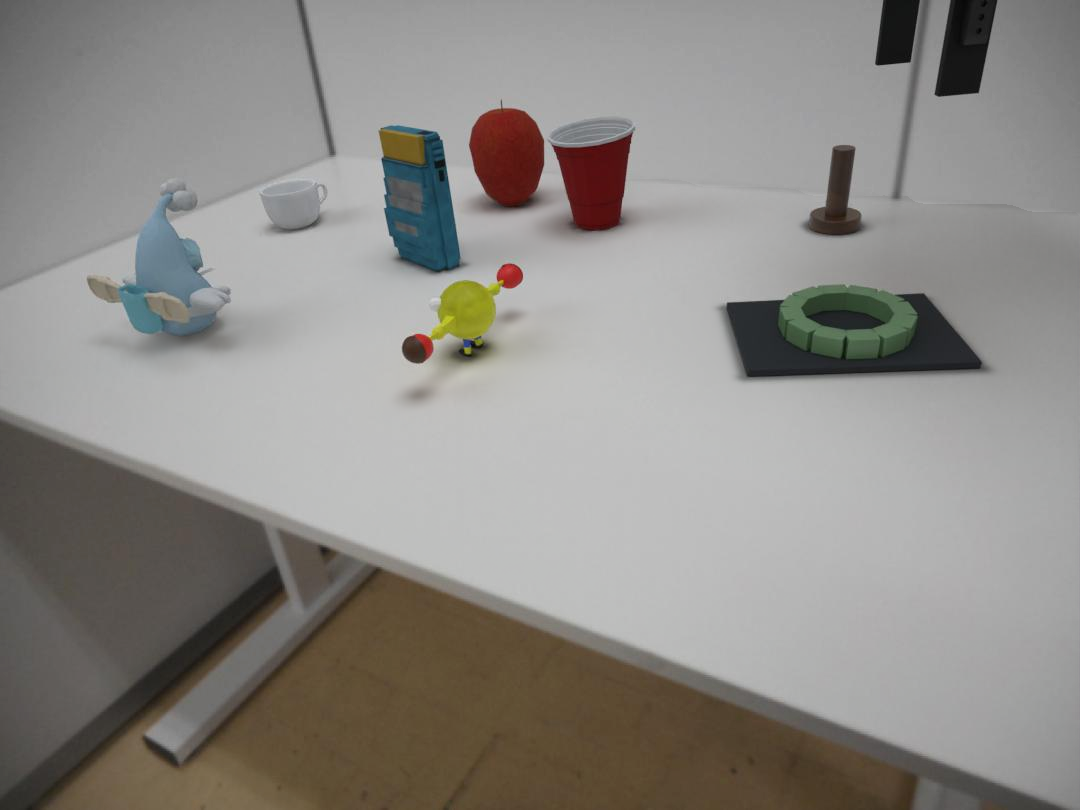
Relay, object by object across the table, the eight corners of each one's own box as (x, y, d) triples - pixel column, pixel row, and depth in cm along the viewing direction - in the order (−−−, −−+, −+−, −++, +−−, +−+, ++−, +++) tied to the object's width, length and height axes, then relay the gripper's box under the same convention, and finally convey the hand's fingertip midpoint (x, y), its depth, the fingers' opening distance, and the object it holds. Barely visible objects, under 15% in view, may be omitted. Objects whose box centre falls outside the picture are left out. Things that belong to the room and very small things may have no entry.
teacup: (291, 237, 101) (280, 198, 99) (259, 229, 106) (247, 191, 103) (348, 214, 108) (339, 177, 105) (315, 208, 112) (306, 172, 109)
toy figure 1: (284, 323, 78) (240, 180, 70) (198, 369, 71) (138, 216, 63) (189, 298, 86) (140, 167, 78) (103, 337, 79) (40, 197, 71)
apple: (562, 196, 106) (555, 92, 99) (517, 218, 100) (505, 109, 92) (508, 188, 112) (497, 89, 105) (462, 208, 106) (447, 104, 98)
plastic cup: (539, 222, 98) (530, 127, 91) (609, 203, 101) (605, 111, 95) (580, 245, 89) (573, 142, 83) (655, 224, 93) (654, 124, 87)
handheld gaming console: (466, 264, 87) (446, 132, 79) (438, 276, 85) (414, 141, 77) (418, 247, 93) (395, 123, 85) (390, 258, 91) (364, 131, 83)
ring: (889, 299, 69) (892, 281, 68) (931, 356, 60) (936, 336, 59) (769, 305, 70) (770, 287, 69) (793, 361, 61) (795, 342, 60)
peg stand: (852, 216, 89) (863, 139, 84) (865, 233, 84) (878, 152, 80) (804, 219, 90) (812, 143, 85) (814, 235, 85) (824, 155, 80)
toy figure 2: (495, 306, 77) (486, 243, 73) (542, 313, 74) (536, 248, 71) (389, 393, 64) (372, 322, 60) (442, 405, 61) (428, 332, 58)
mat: (922, 298, 70) (923, 292, 69) (980, 368, 59) (982, 361, 58) (726, 307, 72) (726, 302, 71) (747, 376, 61) (748, 370, 60)
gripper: (859, -240, 58) (830, 57, 69) (1007, -331, 37) (930, 116, 48) (961, -254, 57) (914, 49, 68) (1171, -356, 36) (1054, 105, 47)
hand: (921, 77), depth 58 cm, fingers open, 13 cm apart
